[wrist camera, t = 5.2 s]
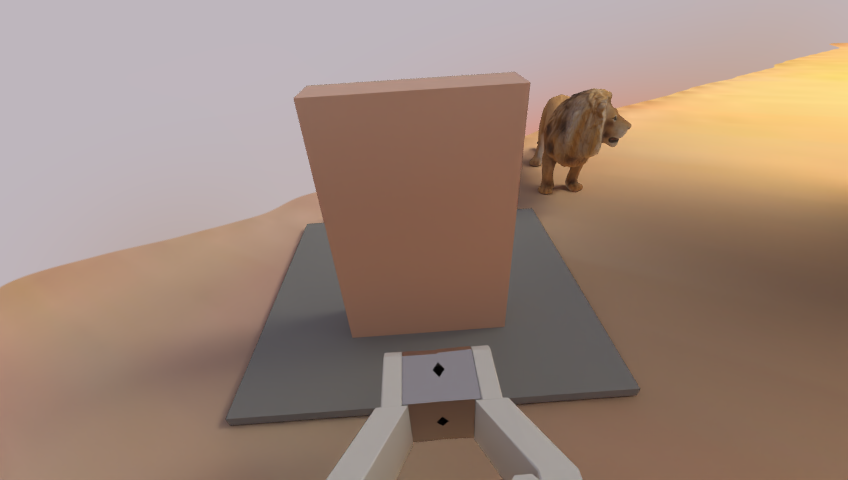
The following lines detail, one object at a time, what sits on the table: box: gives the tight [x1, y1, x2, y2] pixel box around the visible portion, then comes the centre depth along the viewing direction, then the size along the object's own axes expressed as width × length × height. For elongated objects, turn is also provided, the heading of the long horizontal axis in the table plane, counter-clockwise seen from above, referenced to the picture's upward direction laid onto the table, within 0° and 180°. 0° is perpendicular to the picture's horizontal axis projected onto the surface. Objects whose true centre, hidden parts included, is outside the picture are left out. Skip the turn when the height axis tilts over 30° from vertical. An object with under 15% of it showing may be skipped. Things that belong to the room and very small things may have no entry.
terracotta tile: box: [294, 72, 530, 338], centre depth 16 cm, size 8×2×12 cm, turn 93°
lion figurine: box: [530, 89, 631, 194], centre depth 32 cm, size 15×5×9 cm, turn 0°
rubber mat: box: [226, 208, 640, 425], centre depth 22 cm, size 18×16×1 cm
